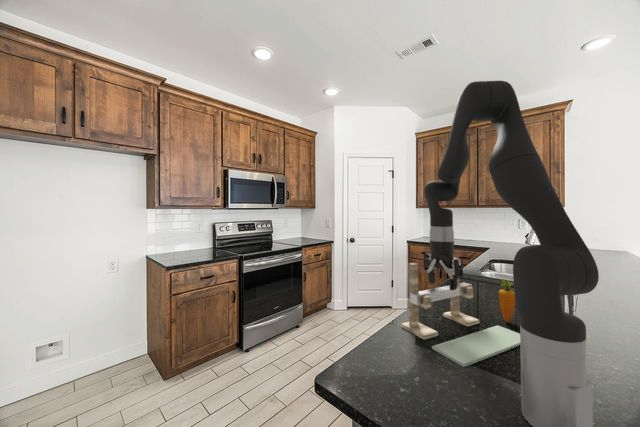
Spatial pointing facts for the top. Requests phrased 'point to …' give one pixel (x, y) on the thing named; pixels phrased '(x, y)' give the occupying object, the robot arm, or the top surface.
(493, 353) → the mat
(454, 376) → the top surface
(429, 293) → the rail
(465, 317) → the hook stands
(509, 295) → the carrot
